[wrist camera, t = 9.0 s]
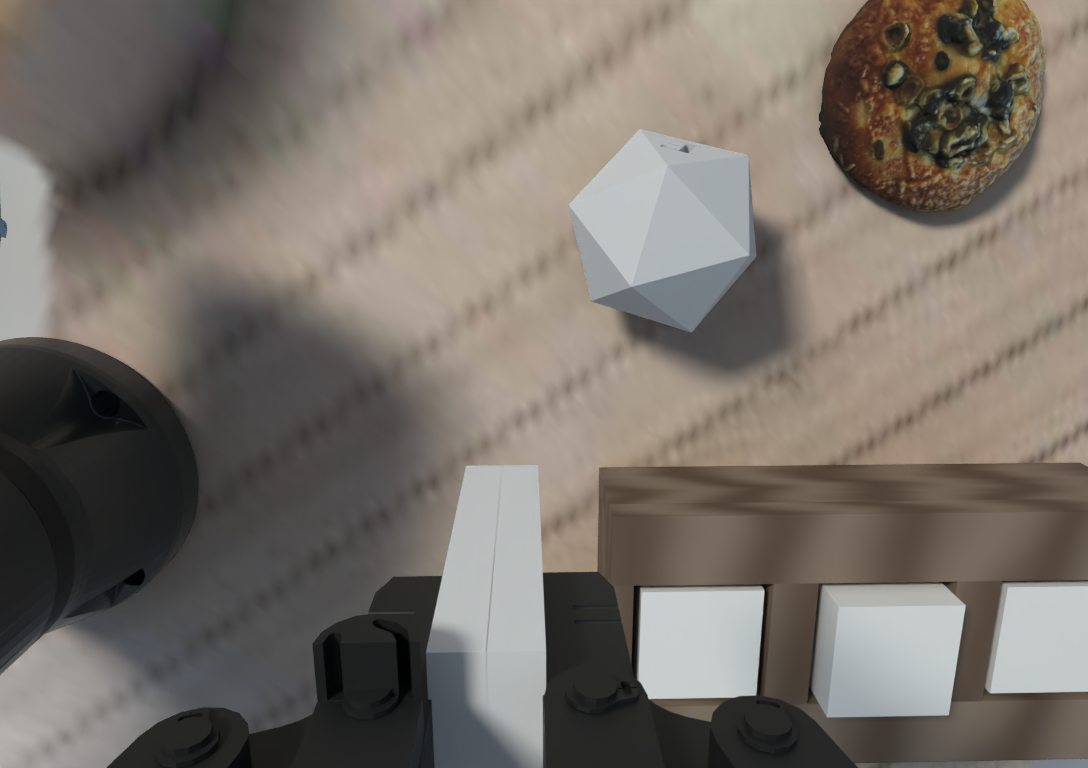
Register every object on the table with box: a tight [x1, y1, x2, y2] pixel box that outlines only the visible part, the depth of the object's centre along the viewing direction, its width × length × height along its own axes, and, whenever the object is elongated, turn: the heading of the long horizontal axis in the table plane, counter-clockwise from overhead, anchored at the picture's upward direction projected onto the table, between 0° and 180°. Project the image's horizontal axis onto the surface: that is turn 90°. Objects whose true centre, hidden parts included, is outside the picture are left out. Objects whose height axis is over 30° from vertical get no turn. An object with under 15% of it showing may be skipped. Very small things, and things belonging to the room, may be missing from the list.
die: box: [569, 129, 756, 333], centre depth 35 cm, size 8×9×10 cm
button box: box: [598, 463, 1088, 763], centre depth 41 cm, size 27×14×6 cm, turn 90°
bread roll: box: [819, 0, 1046, 212], centre depth 36 cm, size 11×11×5 cm
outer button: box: [985, 580, 1088, 693], centre depth 39 cm, size 6×6×3 cm
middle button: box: [809, 582, 966, 717], centre depth 37 cm, size 6×6×3 cm
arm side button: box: [631, 584, 765, 699], centre depth 39 cm, size 6×6×3 cm
